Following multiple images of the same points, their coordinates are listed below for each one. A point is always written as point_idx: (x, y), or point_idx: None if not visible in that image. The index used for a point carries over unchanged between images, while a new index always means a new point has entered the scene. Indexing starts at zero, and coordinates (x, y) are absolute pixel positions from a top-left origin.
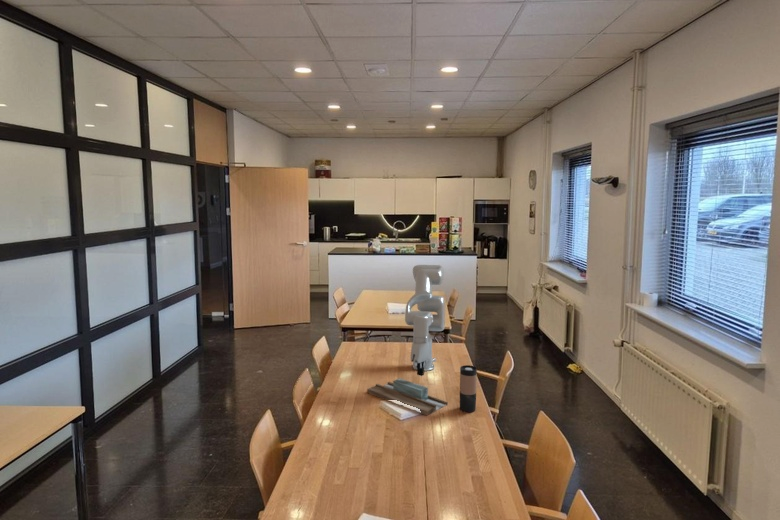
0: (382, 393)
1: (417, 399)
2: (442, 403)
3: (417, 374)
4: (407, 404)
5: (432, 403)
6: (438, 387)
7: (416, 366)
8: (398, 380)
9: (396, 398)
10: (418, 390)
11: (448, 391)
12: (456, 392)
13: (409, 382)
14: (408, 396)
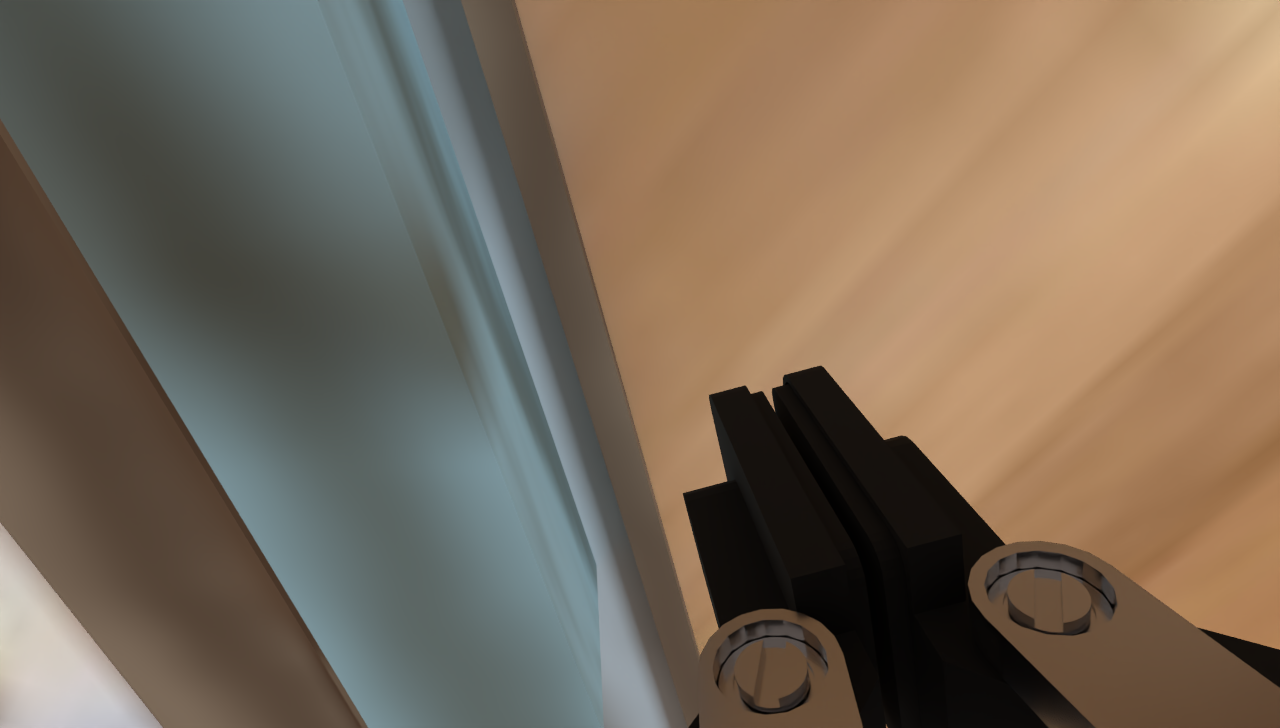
0: None
1: (337, 681)
2: (685, 723)
3: (712, 408)
4: (131, 681)
5: None
6: (1113, 260)
7: (704, 686)
8: (113, 2)
9: (1, 442)
10: (377, 721)
11: (1078, 467)
12: (1124, 543)
13: (392, 340)
14: (246, 528)
